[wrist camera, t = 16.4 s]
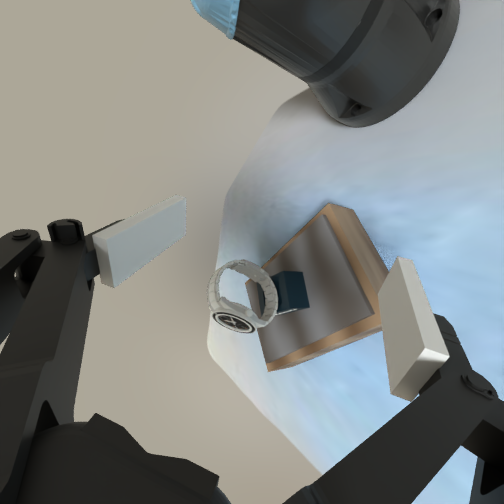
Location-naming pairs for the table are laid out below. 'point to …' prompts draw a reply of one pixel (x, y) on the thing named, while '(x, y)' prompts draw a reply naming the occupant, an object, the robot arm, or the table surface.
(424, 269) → the table surface
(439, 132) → the table surface
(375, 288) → the riser
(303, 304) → the watch
